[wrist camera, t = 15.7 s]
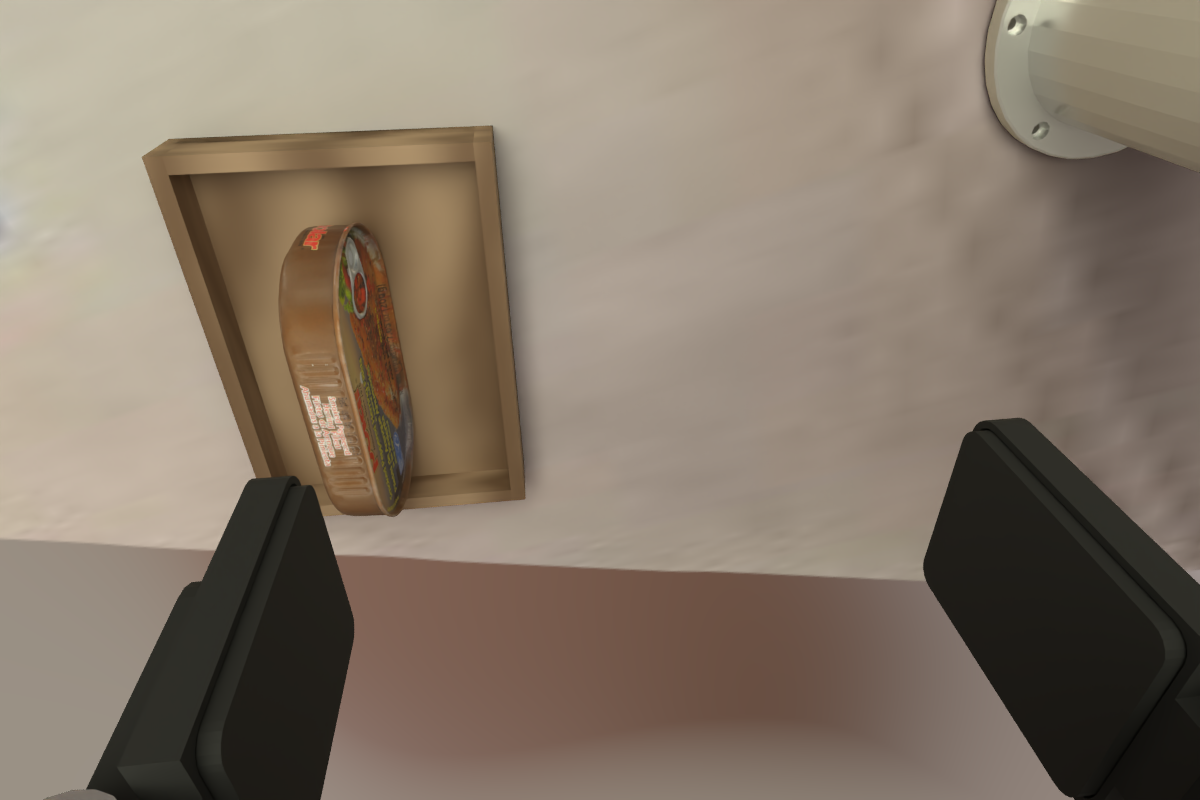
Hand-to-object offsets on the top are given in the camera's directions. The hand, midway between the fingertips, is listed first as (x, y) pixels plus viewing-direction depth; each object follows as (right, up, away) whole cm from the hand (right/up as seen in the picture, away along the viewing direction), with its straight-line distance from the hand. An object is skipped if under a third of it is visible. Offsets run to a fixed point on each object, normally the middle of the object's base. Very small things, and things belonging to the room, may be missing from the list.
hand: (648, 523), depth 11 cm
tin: (-13, +5, +28) cm, 31 cm away
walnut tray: (-13, +6, +29) cm, 32 cm away
